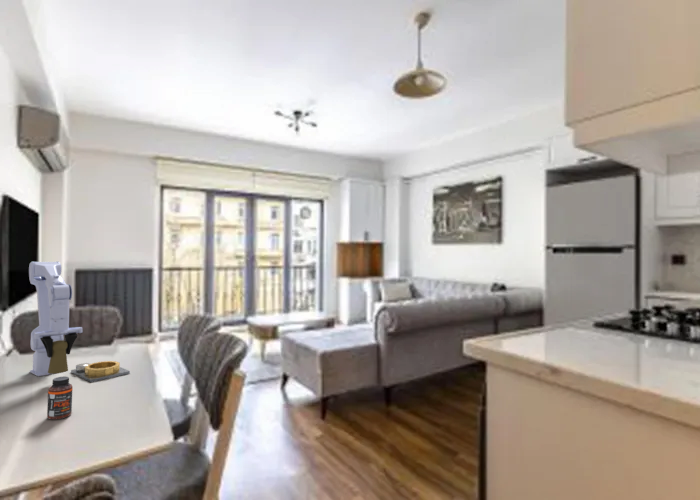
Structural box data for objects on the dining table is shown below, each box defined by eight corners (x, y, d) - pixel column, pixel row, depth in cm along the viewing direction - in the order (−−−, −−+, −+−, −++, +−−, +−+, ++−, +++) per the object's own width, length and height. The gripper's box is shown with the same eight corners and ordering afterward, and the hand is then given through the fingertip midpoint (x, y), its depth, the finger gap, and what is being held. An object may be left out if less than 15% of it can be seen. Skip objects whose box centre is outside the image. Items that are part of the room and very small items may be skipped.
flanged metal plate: (71, 372, 160) (71, 363, 160) (108, 364, 171) (109, 356, 171) (90, 382, 149) (90, 373, 149) (129, 373, 161) (129, 364, 161)
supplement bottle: (52, 422, 116) (53, 383, 116) (43, 417, 119) (44, 378, 119) (75, 415, 121) (76, 377, 121) (66, 410, 124) (67, 373, 124)
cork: (58, 374, 143) (59, 343, 143) (43, 372, 144) (44, 342, 144) (72, 369, 149) (73, 339, 149) (58, 368, 150) (59, 338, 150)
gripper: (39, 322, 139) (38, 361, 139) (86, 316, 150) (85, 353, 151) (32, 319, 143) (31, 357, 143) (78, 314, 155) (77, 350, 155)
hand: (58, 355), depth 147 cm, fingers closed on cork, 5 cm apart
